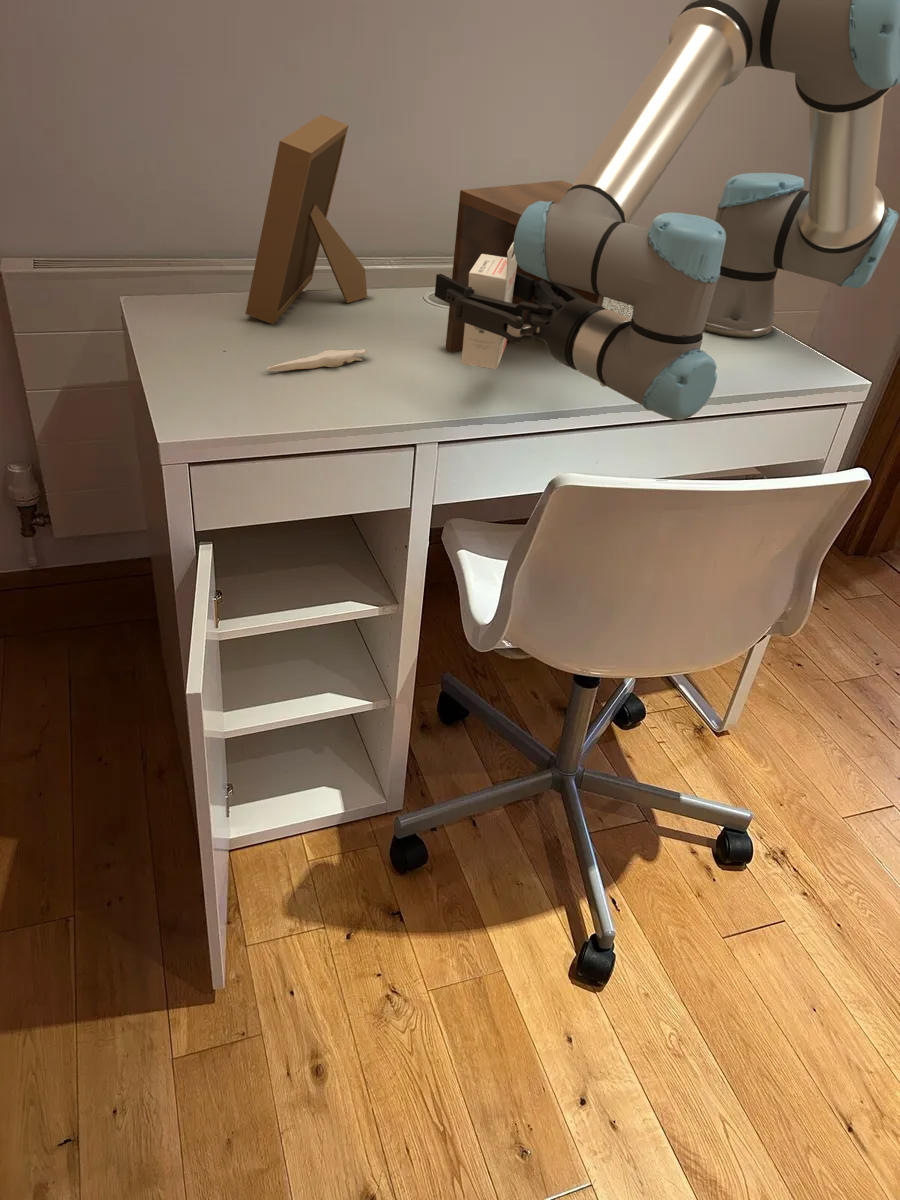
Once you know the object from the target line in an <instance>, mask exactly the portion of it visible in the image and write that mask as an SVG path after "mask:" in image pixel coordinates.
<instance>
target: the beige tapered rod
mask: <svg viewBox="0 0 900 1200" xmlns="http://www.w3.org/2000/svg"><path fill="white" fill-rule="evenodd" d="M365 354H367V350H366V349H365V348H362V349H359V350H356V349H355V350H354V349H345V350H339V349H327V350H324V351H321V352H320V353H317V354H314V355H311V356H306V357H302V358H297V359H293V360H289V361H284V362H280V363H278V364H275V365H274V364H273V365H271V366H268V367H267V368H265V370H267V371H273V372H274V371H277V372H278V371H291V370H292V371H293V370H304V369H305V370H308V369H309V370H310V369H316V368H321V367H327V368H337V367H341V366H344V365H347V364H350V363H353V362H354V361H359V362H363V361H364V359H363V358H360V357H358V356H362V355H363V356H364V355H365Z"/></svg>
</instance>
